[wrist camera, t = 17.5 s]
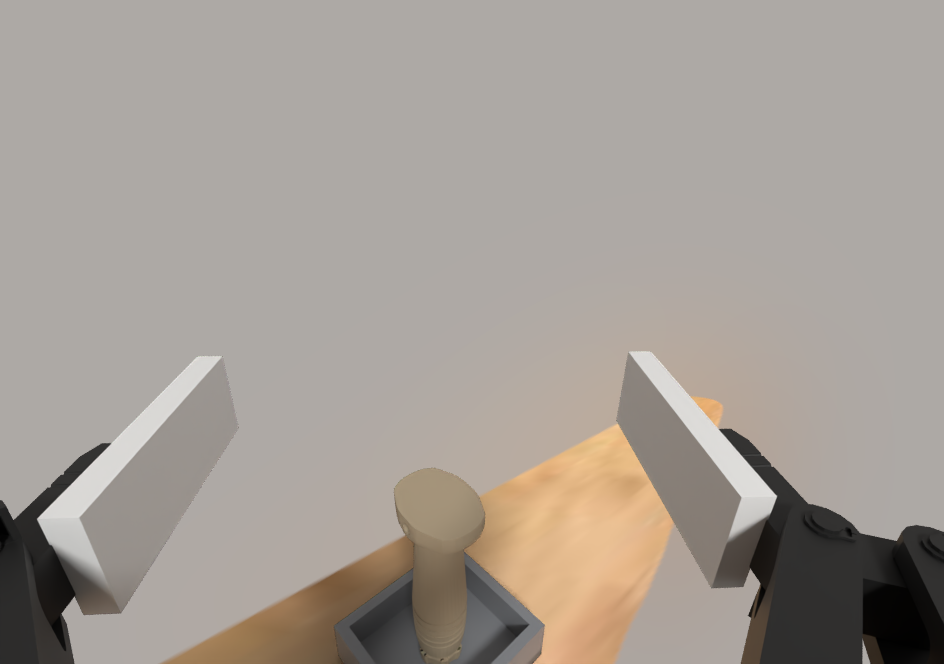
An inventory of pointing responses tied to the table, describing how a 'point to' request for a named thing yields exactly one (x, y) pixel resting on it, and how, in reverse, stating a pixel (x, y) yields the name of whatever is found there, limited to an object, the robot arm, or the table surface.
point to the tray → (485, 636)
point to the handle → (439, 555)
